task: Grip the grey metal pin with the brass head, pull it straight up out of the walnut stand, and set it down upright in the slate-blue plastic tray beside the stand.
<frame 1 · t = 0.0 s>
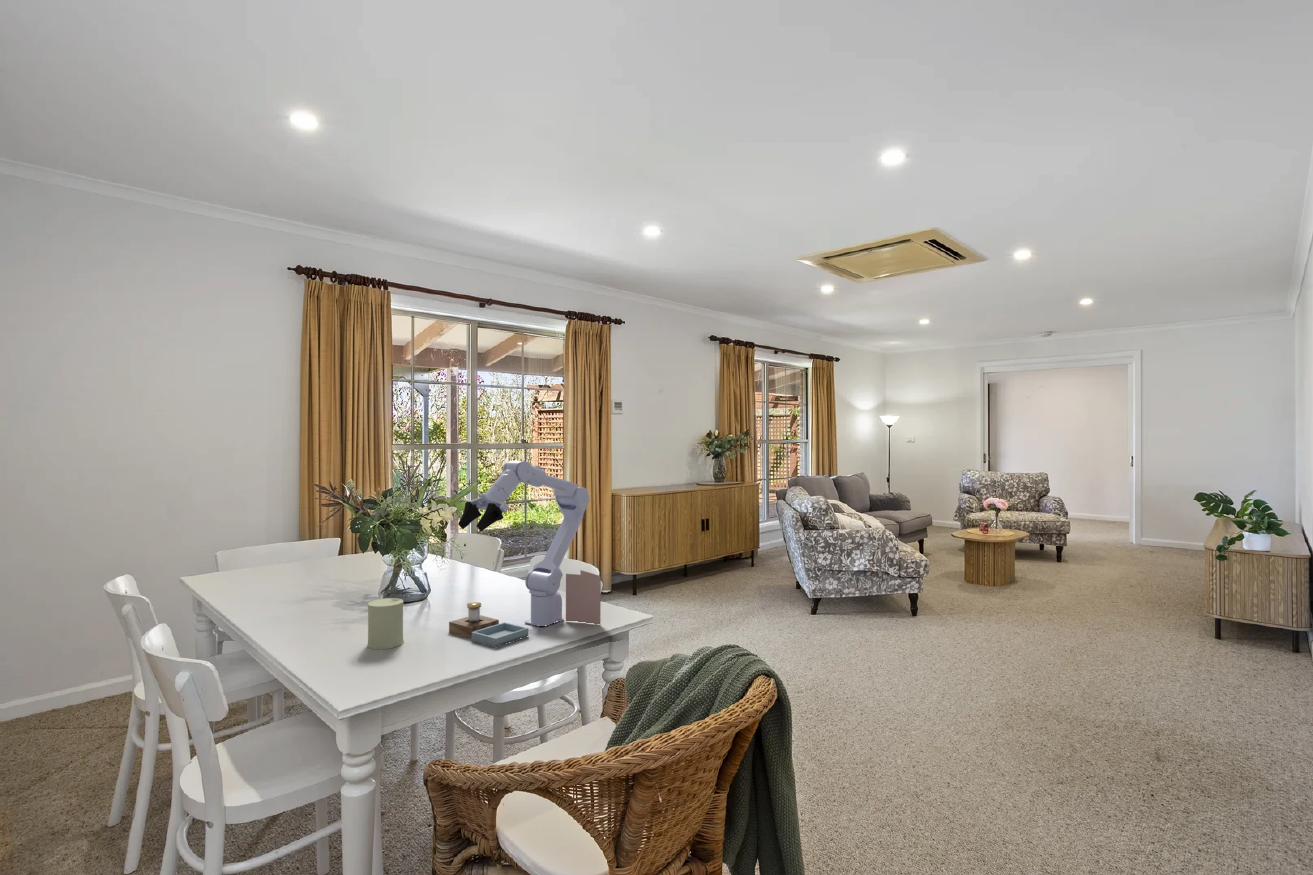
hand: (469, 527, 177), 32 cm above the table, tool tilted 50°, fingers open, 7 cm apart
can: (385, 644, 179), on the table
tray: (500, 638, 184), on the table
greeting card: (582, 623, 200), on the table
pin stand: (474, 630, 191), on the table
pin: (474, 631, 191), resting in pin stand
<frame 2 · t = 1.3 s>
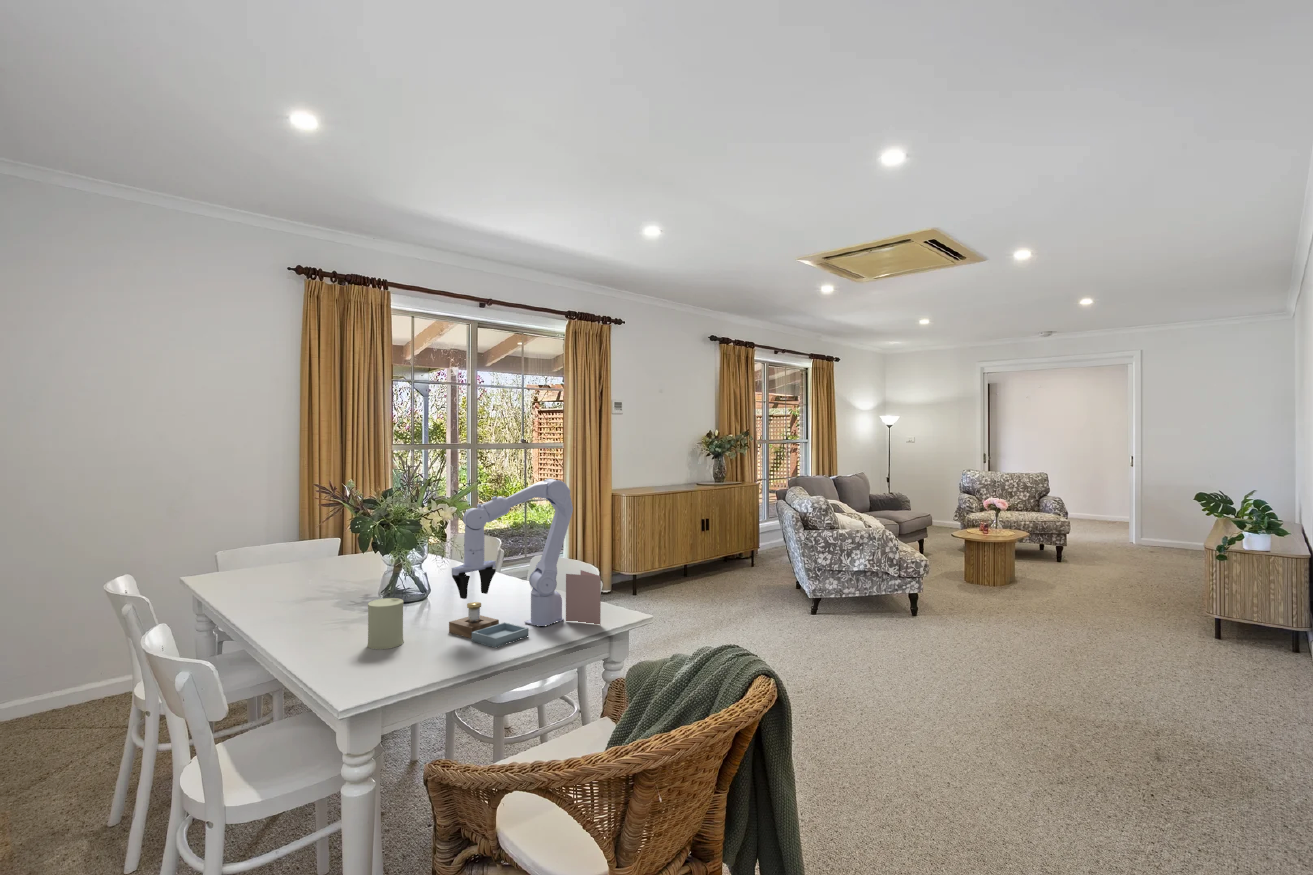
hand: (474, 595, 191), 10 cm above the table, tool pointing down, fingers open, 7 cm apart
nothing on the table moved.
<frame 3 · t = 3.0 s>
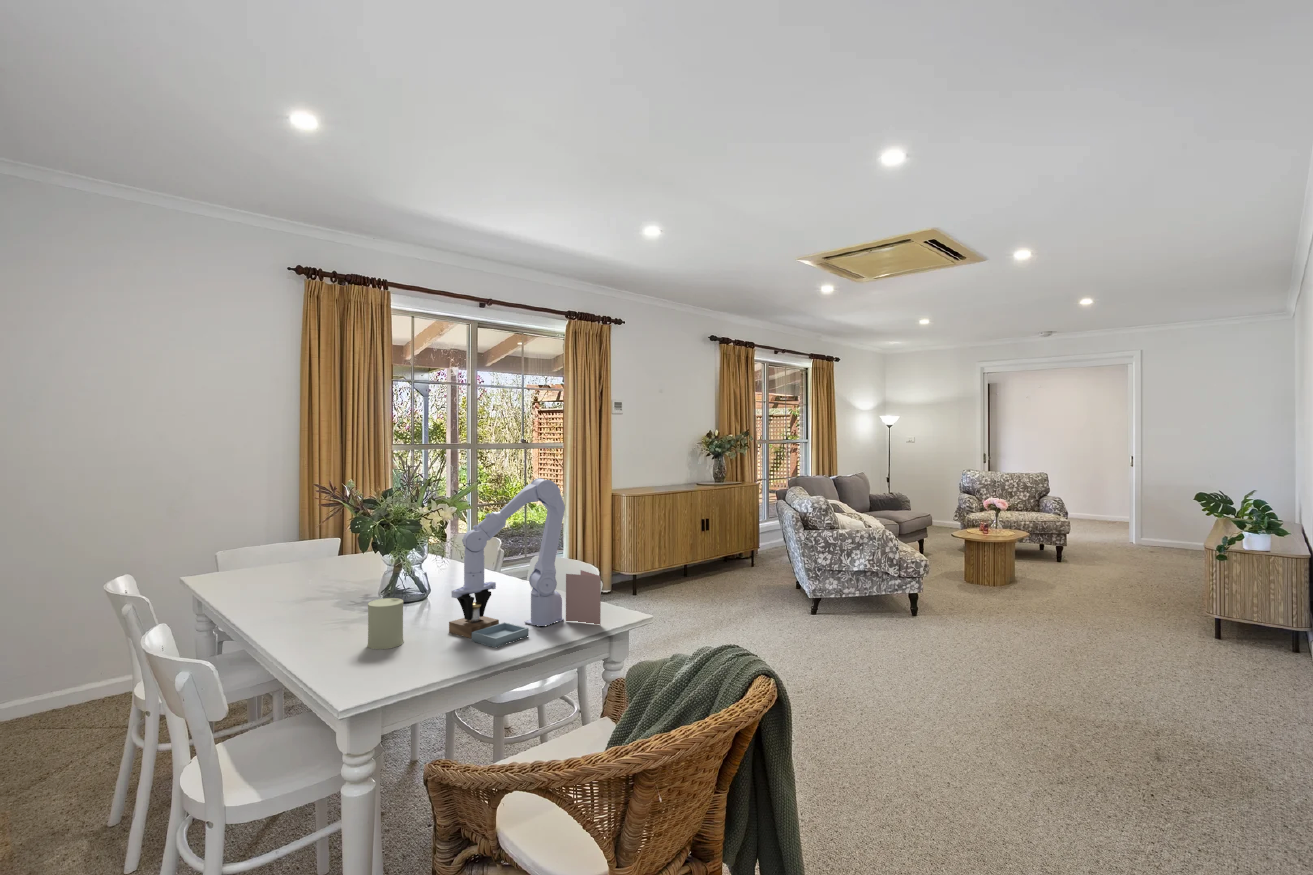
hand: (474, 617, 191), 4 cm above the table, tool pointing down, fingers closed on pin, 4 cm apart
pin: (474, 631, 191), resting in pin stand, touching gripper
everything else where it was.
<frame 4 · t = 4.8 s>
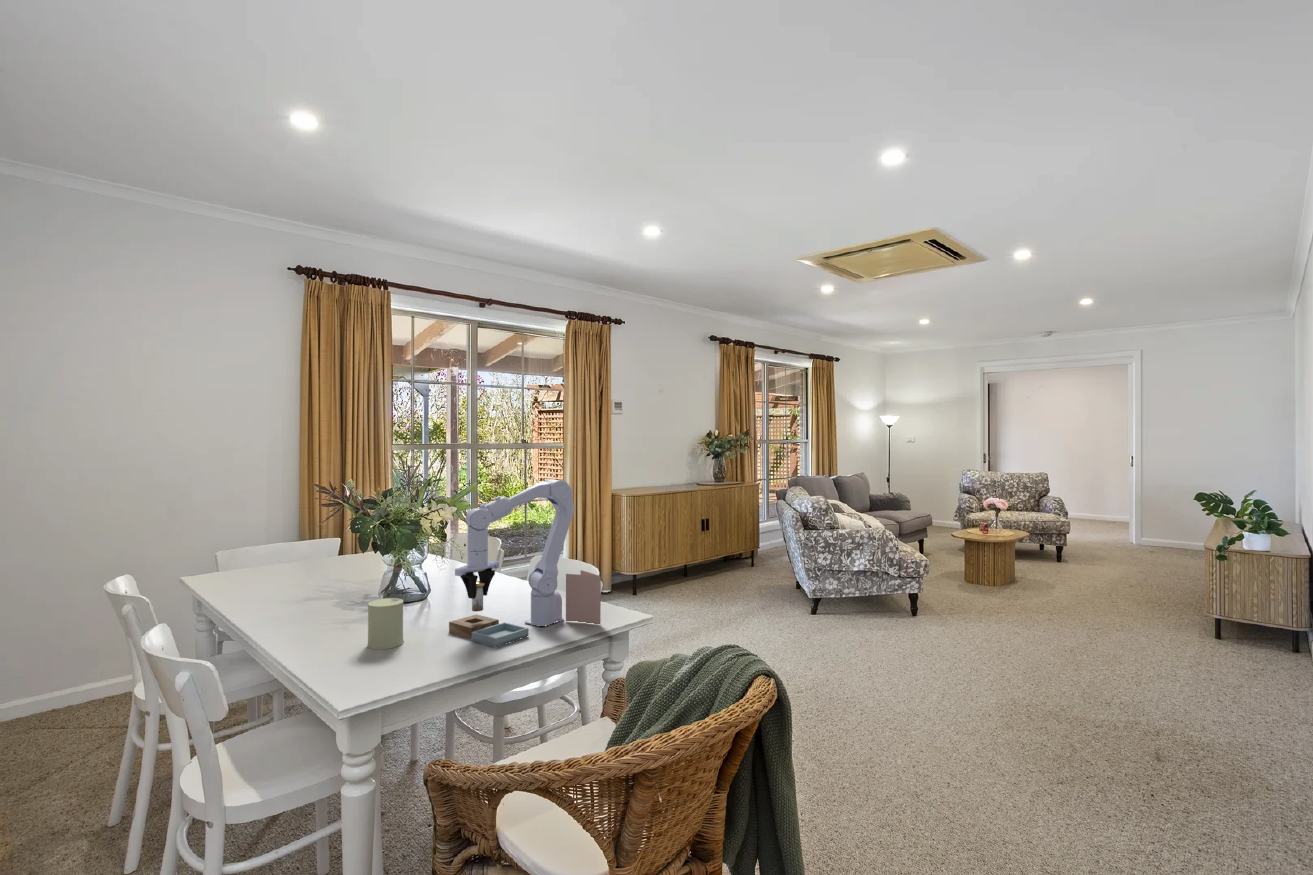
hand: (477, 596, 190), 10 cm above the table, tool pointing down, fingers closed on pin, 4 cm apart
pin: (477, 609, 190), point 6 cm above the table, touching gripper
everything else where it was.
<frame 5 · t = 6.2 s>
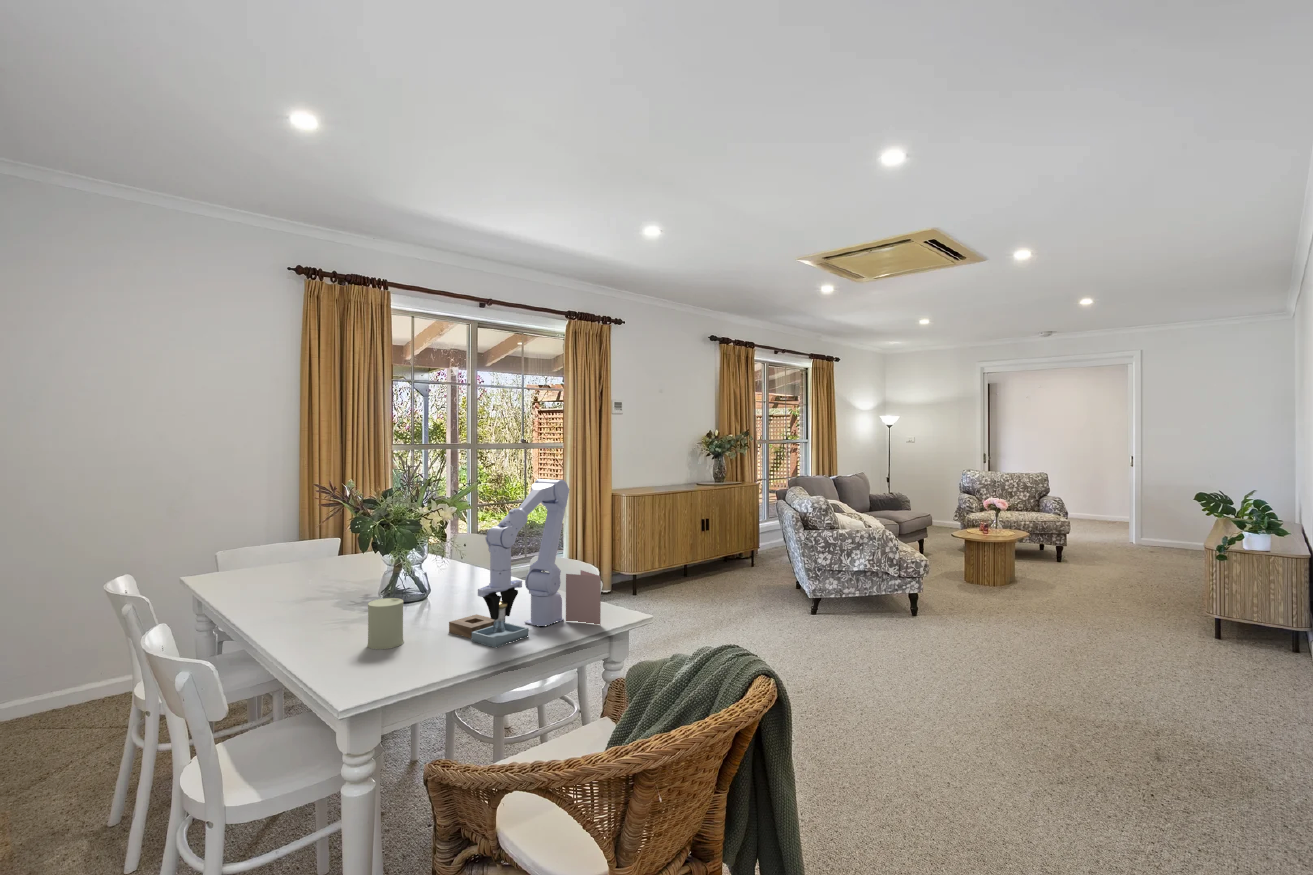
hand: (500, 617, 184), 6 cm above the table, tool pointing down, fingers closed on pin, 4 cm apart
pin: (498, 630, 184), point 2 cm above the table, touching gripper
everything else where it was.
when the fingers open (6 cm above the table, at t = 7.0 s): pin drops 1 cm, resting on tray.
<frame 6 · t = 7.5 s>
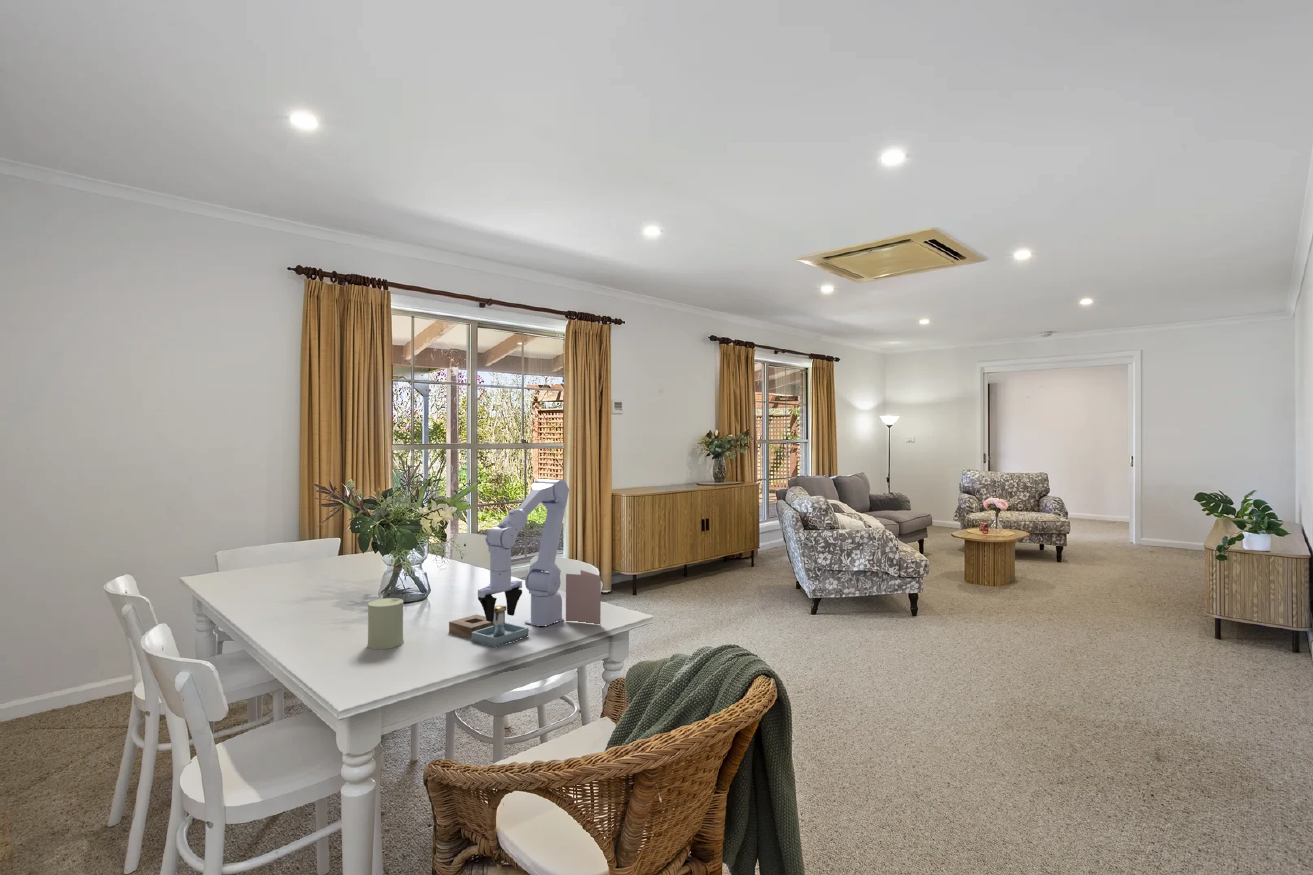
hand: (500, 617, 184), 6 cm above the table, tool pointing down, fingers open, 7 cm apart
pin: (499, 635, 184), point 1 cm above the table, touching tray
everything else where it was.
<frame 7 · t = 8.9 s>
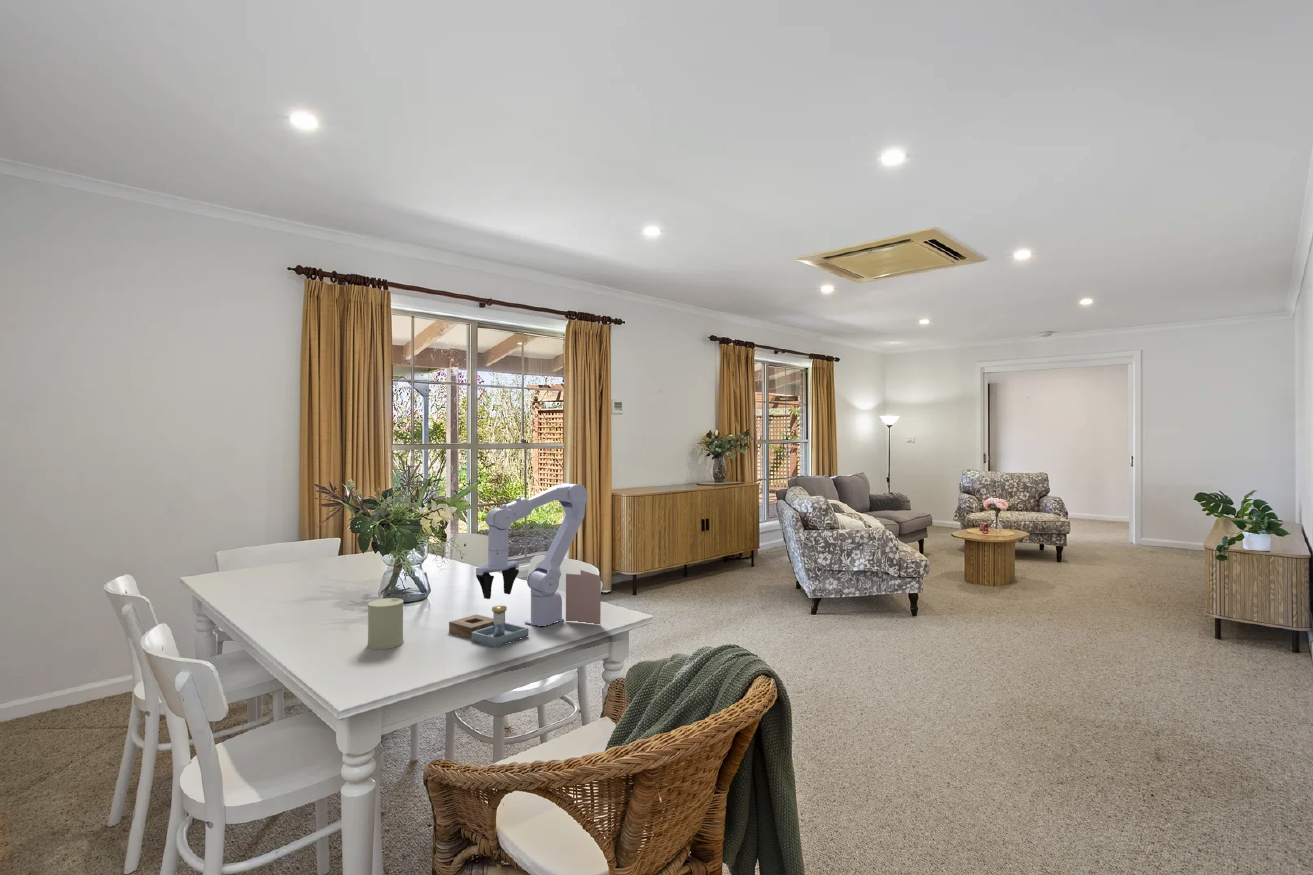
hand: (497, 596, 190), 10 cm above the table, tool pointing down, fingers open, 7 cm apart
nothing on the table moved.
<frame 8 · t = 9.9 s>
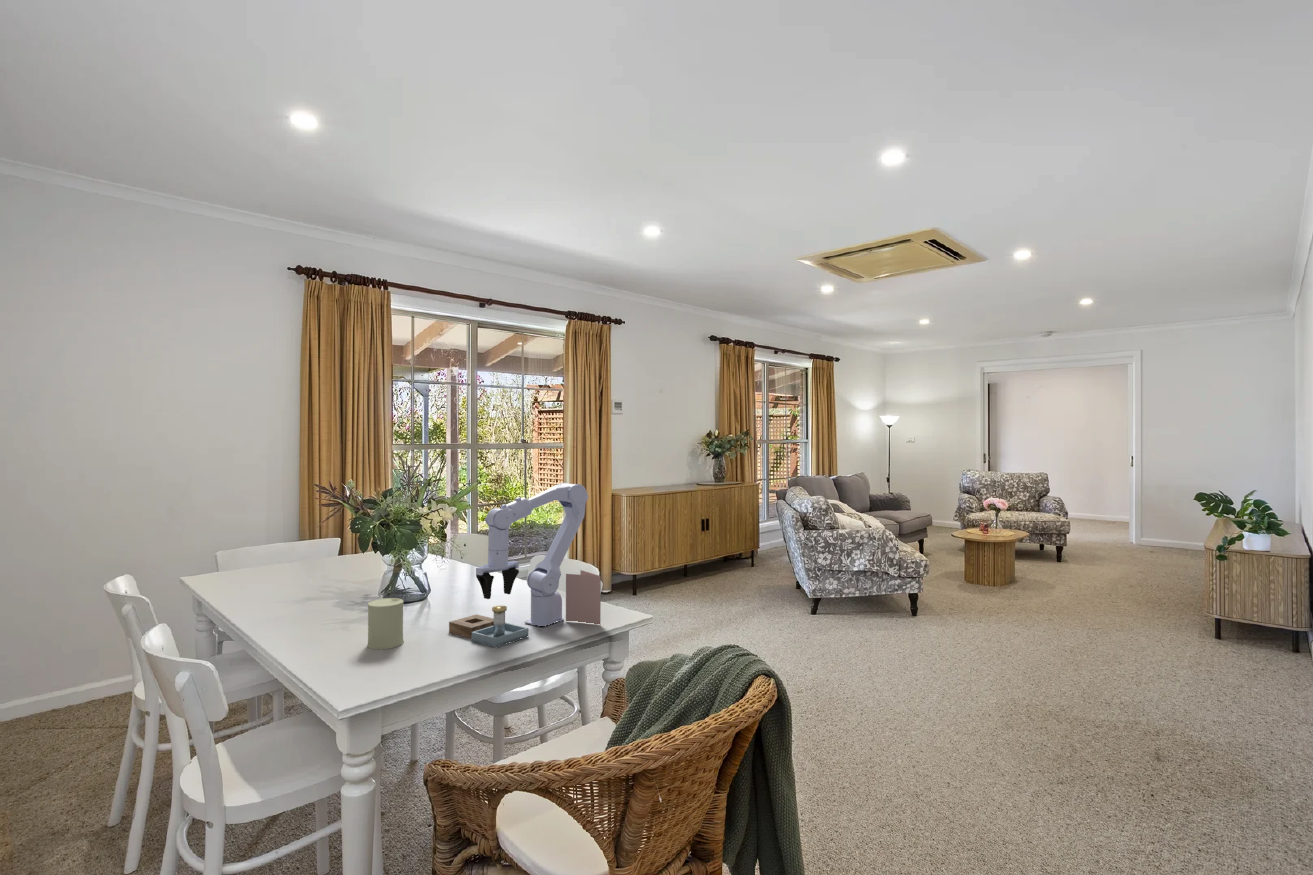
hand: (497, 596, 190), 10 cm above the table, tool pointing down, fingers open, 7 cm apart
nothing on the table moved.
at the end: pin inside the target area on the tray (0.6 cm from its centre), point 0.8 cm above the tray's base; pin moved 11.5 cm from its start; the gripper is holding nothing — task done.
